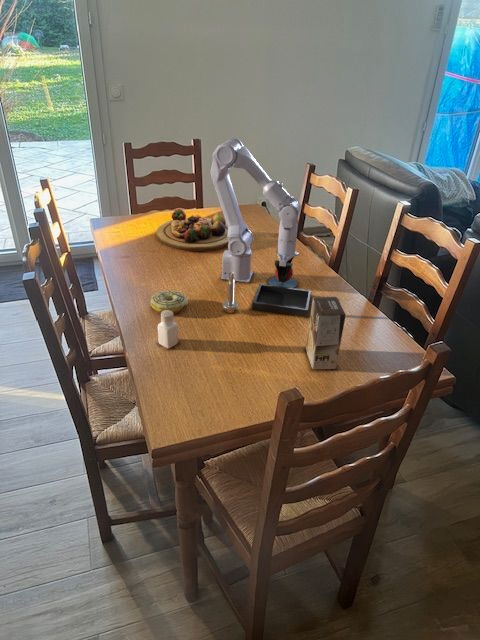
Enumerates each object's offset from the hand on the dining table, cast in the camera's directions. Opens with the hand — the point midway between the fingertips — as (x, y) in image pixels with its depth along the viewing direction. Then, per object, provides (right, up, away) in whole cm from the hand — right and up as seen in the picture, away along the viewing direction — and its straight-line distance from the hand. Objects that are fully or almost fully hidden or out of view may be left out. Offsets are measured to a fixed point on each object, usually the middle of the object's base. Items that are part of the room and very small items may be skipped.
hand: (283, 277), depth 155 cm
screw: (-17, -12, -15) cm, 26 cm away
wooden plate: (-32, +19, +33) cm, 50 cm away
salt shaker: (-34, -21, -31) cm, 50 cm away
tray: (-1, -9, -10) cm, 13 cm away
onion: (0, -2, +1) cm, 2 cm away
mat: (0, -2, +1) cm, 2 cm away
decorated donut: (-36, -11, -15) cm, 40 cm away
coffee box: (+6, -24, -33) cm, 42 cm away
